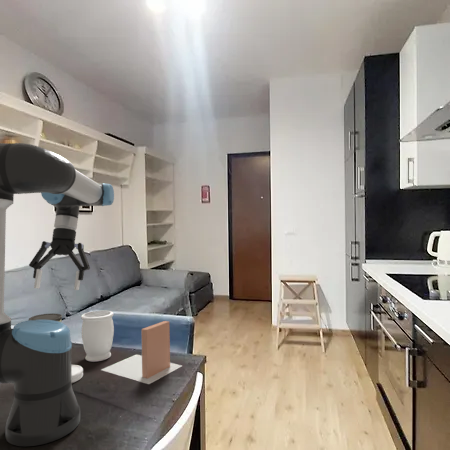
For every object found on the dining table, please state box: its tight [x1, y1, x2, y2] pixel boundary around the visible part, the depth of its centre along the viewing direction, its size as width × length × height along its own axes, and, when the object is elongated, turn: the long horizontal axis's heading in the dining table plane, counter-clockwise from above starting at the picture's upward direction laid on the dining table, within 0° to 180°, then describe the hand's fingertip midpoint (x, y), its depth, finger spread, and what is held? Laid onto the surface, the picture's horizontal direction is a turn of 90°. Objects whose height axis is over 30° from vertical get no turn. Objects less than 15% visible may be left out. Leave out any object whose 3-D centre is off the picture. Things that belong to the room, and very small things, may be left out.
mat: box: [100, 354, 183, 385], centre depth 113 cm, size 20×15×1 cm
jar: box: [80, 310, 115, 363], centre depth 125 cm, size 11×10×15 cm
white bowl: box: [71, 364, 84, 384], centre depth 106 cm, size 10×10×4 cm
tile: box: [140, 320, 171, 379], centre depth 110 cm, size 2×10×14 cm, turn 148°
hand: (56, 289), depth 126 cm, fingers open, 13 cm apart
